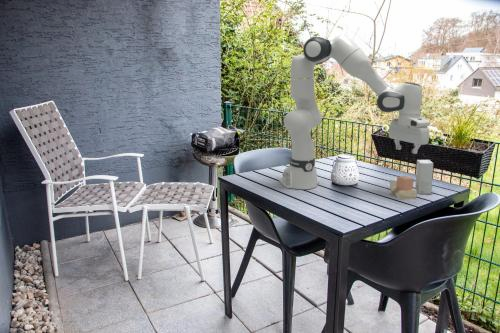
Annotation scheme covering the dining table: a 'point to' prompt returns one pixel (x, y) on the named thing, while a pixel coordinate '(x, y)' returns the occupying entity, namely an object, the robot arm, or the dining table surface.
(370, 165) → the dining table surface
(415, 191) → the beech base
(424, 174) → the skincare box
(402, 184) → the terracotta cube
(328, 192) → the dining table surface
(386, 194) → the dining table surface
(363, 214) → the dining table surface
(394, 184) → the offwhite cube
